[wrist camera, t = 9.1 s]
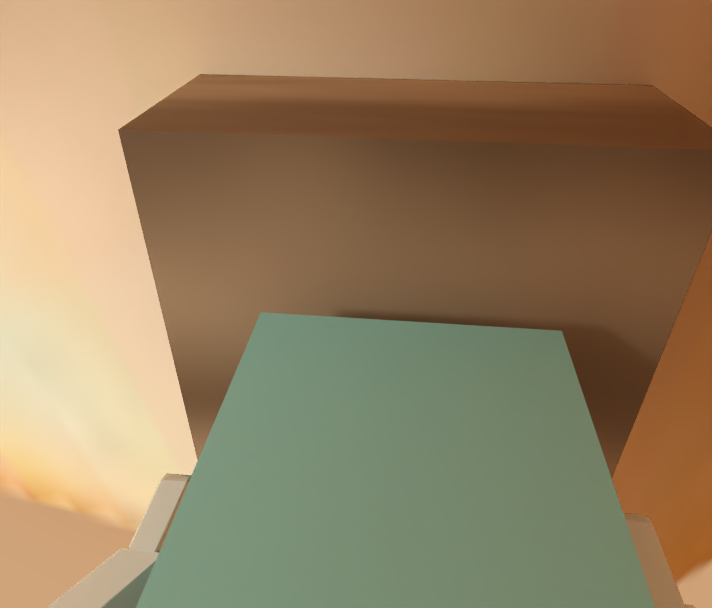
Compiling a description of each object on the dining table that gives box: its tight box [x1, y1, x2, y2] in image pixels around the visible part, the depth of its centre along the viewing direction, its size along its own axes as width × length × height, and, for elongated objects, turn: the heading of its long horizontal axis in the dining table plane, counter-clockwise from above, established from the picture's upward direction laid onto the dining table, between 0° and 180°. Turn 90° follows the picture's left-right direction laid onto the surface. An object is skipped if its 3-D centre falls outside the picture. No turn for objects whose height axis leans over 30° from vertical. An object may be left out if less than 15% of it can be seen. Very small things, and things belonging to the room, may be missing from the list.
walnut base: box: [118, 74, 712, 478], centre depth 16 cm, size 12×12×5 cm
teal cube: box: [136, 312, 655, 608], centre depth 10 cm, size 6×6×6 cm
